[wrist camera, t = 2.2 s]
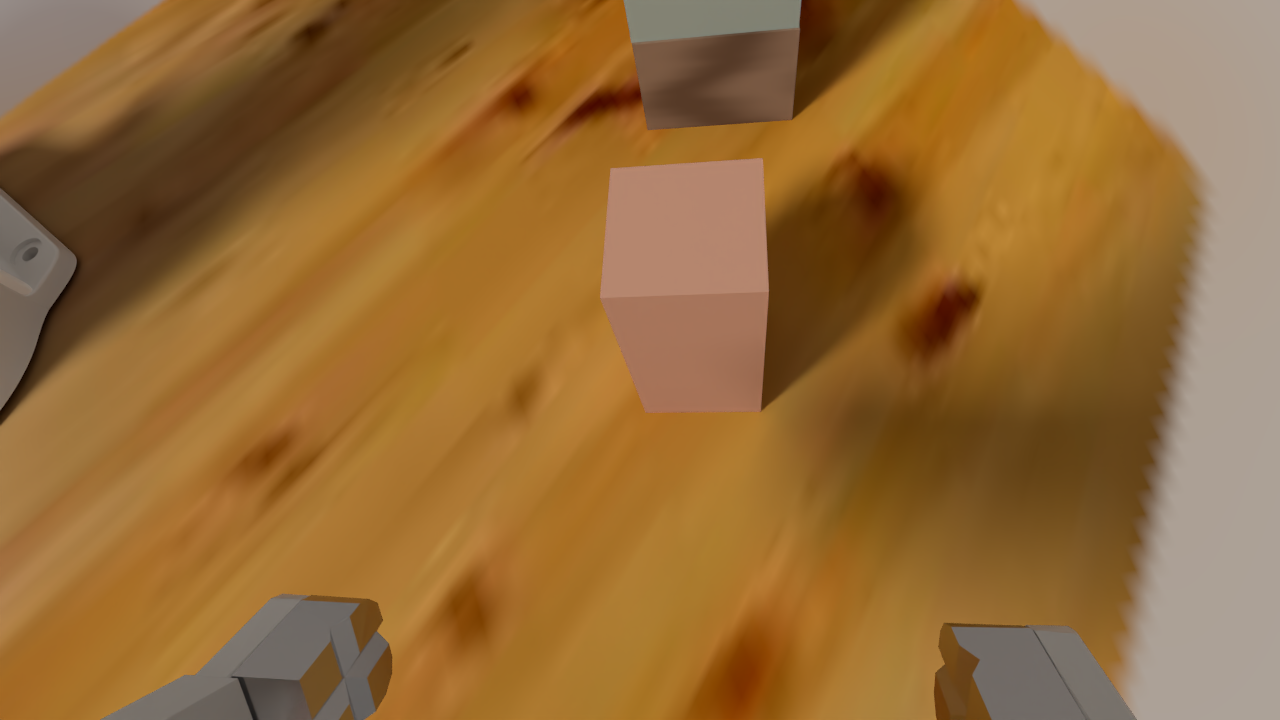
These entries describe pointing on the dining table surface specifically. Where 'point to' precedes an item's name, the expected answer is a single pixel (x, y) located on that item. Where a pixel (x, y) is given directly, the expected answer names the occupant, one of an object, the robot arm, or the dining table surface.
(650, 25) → the tower top
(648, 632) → the dining table surface
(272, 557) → the dining table surface
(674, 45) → the tower base
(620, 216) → the tall block
